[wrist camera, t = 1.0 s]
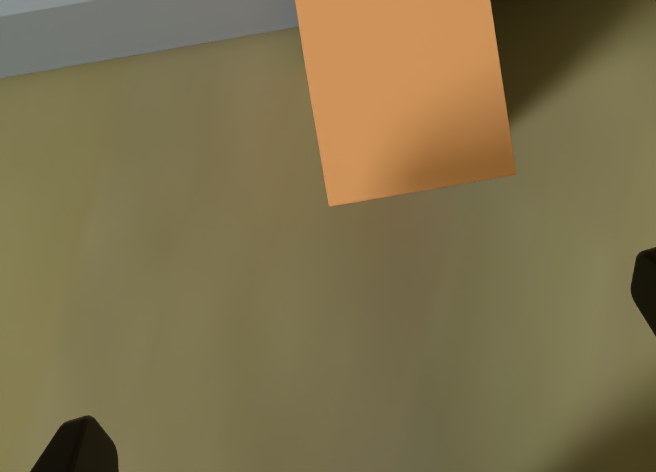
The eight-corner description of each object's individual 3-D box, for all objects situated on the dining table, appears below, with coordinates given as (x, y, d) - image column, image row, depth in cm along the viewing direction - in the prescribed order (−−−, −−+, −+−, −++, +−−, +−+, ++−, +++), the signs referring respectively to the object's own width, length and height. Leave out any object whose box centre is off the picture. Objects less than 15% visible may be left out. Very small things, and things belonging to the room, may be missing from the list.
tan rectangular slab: (431, 187, 25) (516, 174, 14) (328, 205, 25) (330, 206, 14) (409, 48, 24) (477, -81, 13) (305, 65, 24) (287, -48, 13)
